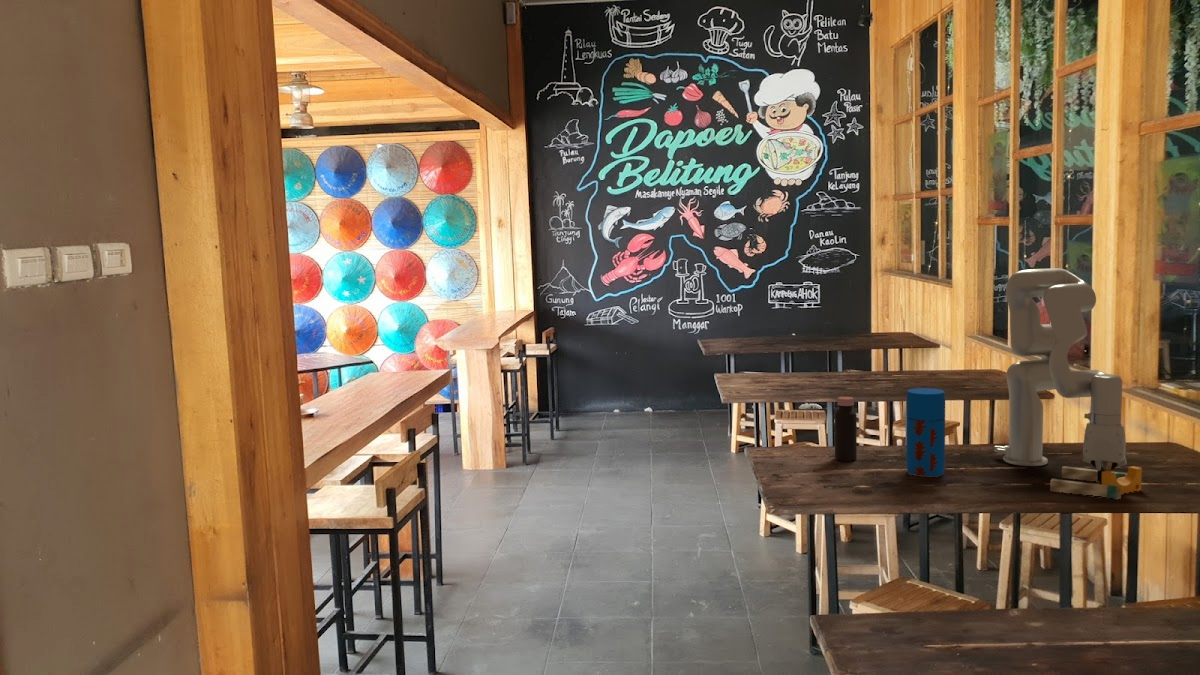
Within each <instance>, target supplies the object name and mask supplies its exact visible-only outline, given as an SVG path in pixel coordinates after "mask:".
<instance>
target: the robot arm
mask: <svg viewBox="0 0 1200 675" xmlns="http://www.w3.org/2000/svg"><path fill="white" fill-rule="evenodd" d="M1005 295H1006V300H1007V305H1008V309H1009V325H1010V327H1009V330H1010V332H1009V333H1010V346H1011V350H1012V352H1013V354H1014V355H1016V356H1017V357H1018V356H1019V357H1035V356H1037V357H1038V356H1039V357H1040V356H1041V359H1033V360H1032V359H1031V360H1030V359H1029V360H1021V361H1016V362H1014V363H1012V364H1011V365H1009V367H1008V368H1007V370H1006V374H1005V376H1006V383H1007V389H1008V397H1009V398H1008V400H1009V410H1008V411H1009V417H1008V418H1009V420H1008V421H1009V423H1008V424H1009V426H1008V445H1005V446H1002V445H994V452H995V453H997V454H1004V456H1003V457H1002V458H1003V461H1004V462H1005V463H1007V464H1010V465H1015V466H1022V467H1042V466H1045V465H1047V464H1049V461H1048V460H1049V458H1047V457H1045V456H1043V446H1044V445H1043V444H1044V443H1043V442H1044V441H1043V439H1044V437H1043V436H1044V406H1043V401H1042V400H1041V398H1040V396H1039V395H1038V393H1037V392H1040V391H1041V392H1043V391H1052V390H1053V391H1054V390H1055V391H1056V393H1058V395H1059V396H1061V397H1062V398H1064V399H1065V398H1066V399H1077V398H1078V399H1079V398H1090V409H1089V410H1090V411H1089V413H1084V414H1083V415H1084V419H1086V420H1088V421H1089V422H1087V423H1086V424H1085V425H1086V426H1085V431H1084V435H1083V436H1084V437H1083V446H1082V447H1083V448H1082V456H1083V458H1082V462H1085V463H1088V464H1091V465H1092V466H1093V468H1095V470H1097V471H1098V478H1097V481H1099V482H1098V483H1099V484H1102V472H1103V471H1110V472H1112V471H1113V470H1114V469H1115V468H1117V467H1125V466H1127V464H1128V463H1127V458H1126V456H1127V440H1126V431H1125V426H1124V424H1122V403H1123V402H1122V401H1123V379H1122V377H1121V376H1119V375H1116V374H1112V373H1105V371H1103V370H1102V371H1101V370H1098V369H1086V370H1085V369H1083V370H1071V369H1070V366H1069V361H1068V353H1069V351H1070V348H1071V347H1072V346H1073V345H1075V344H1076V343H1078V342H1080V341H1082V340H1084V339H1085V338H1086V337H1087V335H1088V329H1087V326H1086V322H1085V320H1084V317H1083V314H1082V312H1083V313H1084V312H1090V311H1092V310H1093V309H1094V308H1095V306H1096V303H1097V295H1096V292H1095V291H1094V288H1093V287H1092V286H1091V285H1090V284H1089V283H1088V282H1086V281H1085V280H1083V279H1082V278H1080V277H1079V276H1077V275H1075V274H1074V273H1072V272H1070V271H1069V270H1067V269H1064V268H1059V267H1058V268H1057V267H1056V268H1055V267H1054V268H1033V269H1023V270H1019V271H1016V272H1014V273H1013V274H1011V276H1010V277H1009V278H1008V280H1007V283H1006V286H1005ZM1033 298H1043V303H1044V306H1045V309H1046V312H1047V317H1048V319H1049V323H1050V324H1049V323H1048V324H1047V323H1046V324H1045V323H1044V324H1041V311H1040V310H1041V309H1040V308H1039V305H1038V304H1037V303H1036V301H1035V300H1034V299H1033ZM1103 462H1106V467H1105V469H1104V466H1103Z"/></svg>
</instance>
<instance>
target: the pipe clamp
mask: <svg viewBox="0 0 1200 675" xmlns="http://www.w3.org/2000/svg"><path fill="white" fill-rule="evenodd" d="M1127 469H1128V470H1127V472H1126V473H1127V475H1126V477H1120V478H1118V479H1117V480H1116V475H1115V473H1114V472H1115V471H1111V472H1110V471H1103V472H1102V484H1101V485H1113V486H1118V487H1121V495H1125V494H1124V493H1126V494H1130V493H1129V492H1131V493H1135V492H1134V491H1137V492H1141V491H1142V478H1143V477H1142V476H1143V475H1142V474H1143V468H1142V467H1138V466H1134V465H1133V466H1128V468H1127ZM1140 490H1141V491H1140Z"/></svg>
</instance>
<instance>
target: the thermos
mask: <svg viewBox="0 0 1200 675" xmlns="http://www.w3.org/2000/svg"><path fill="white" fill-rule="evenodd" d="M945 393H946V392H945V390H943V389H938V388H930V387H929V388H928V387H926V388H923V387H922V388H920V387H919V388H911V389H908V390H907V392H906V472H907V471H908V472H909V473H911V474H916V475H922V476H938V475H942V474H944V475H945V464H946V463H945V461H946V394H945Z"/></svg>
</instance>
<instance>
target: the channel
mask: <svg viewBox="0 0 1200 675" xmlns="http://www.w3.org/2000/svg"><path fill="white" fill-rule="evenodd" d="M1113 472H1114V473H1115V475H1116V480H1117V479H1118V478H1120V477H1126V475H1127V472H1124V471H1123V472H1122V471H1113ZM1097 478H1098V471H1097V470H1096V469H1092V468H1083V467H1075V466H1066V465H1065V466H1062V467H1061V479H1057V478H1051V479H1050V490H1049V491H1050V492H1055V493H1062V492H1063V493H1065V494H1070V493H1072V495H1078V494H1082V495H1081V496H1086V495H1093V496H1092V497H1094V496H1102V497H1107V498H1106V499H1110V498H1113V499H1112V500H1118V499H1120V500H1121V499H1122V494H1121V487H1118V486H1113V485H1101V484H1100V482H1099V481H1097ZM1066 479H1068V480H1066ZM1069 479H1070V480H1069ZM1076 479H1077V480H1078V481H1075V480H1076ZM1085 480H1086V482H1083V481H1085ZM1093 481H1096V482H1095V483H1093ZM1102 497H1101V498H1102Z"/></svg>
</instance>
